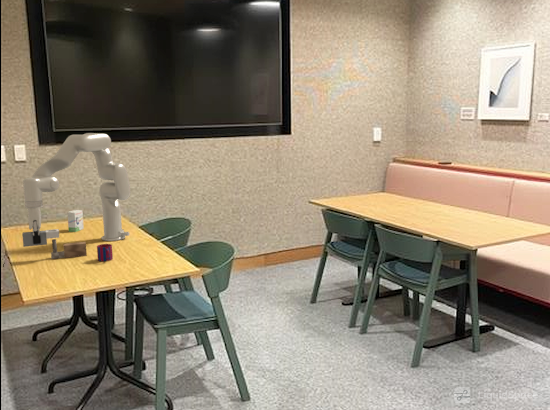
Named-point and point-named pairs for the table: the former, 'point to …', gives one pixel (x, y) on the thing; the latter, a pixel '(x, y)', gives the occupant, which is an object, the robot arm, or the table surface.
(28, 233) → the charcoal hinge leaf
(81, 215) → the ink box
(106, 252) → the mug
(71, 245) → the walnut hinge leaf
